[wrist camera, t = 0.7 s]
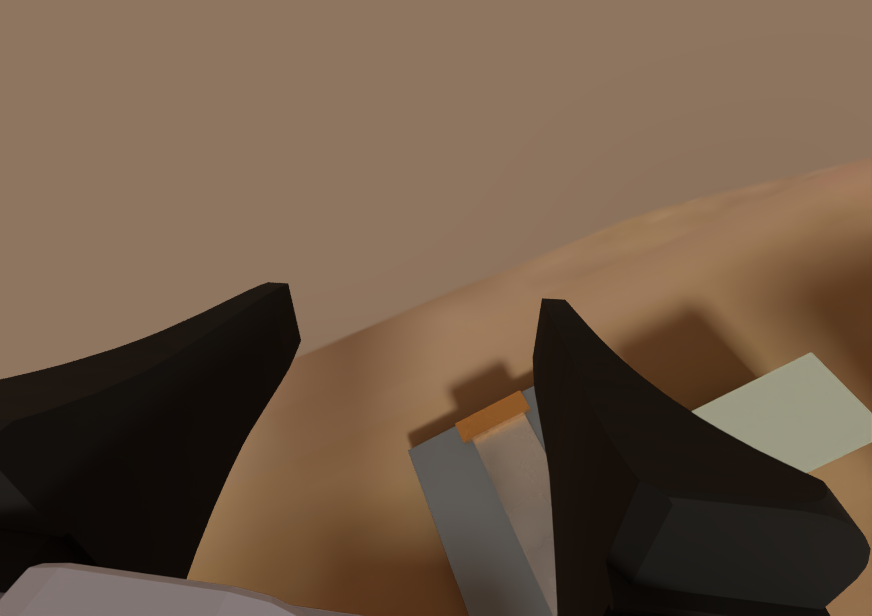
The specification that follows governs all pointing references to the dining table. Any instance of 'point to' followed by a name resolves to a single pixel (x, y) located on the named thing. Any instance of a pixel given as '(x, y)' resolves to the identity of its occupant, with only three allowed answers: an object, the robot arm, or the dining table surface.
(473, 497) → the mounting board
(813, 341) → the dining table surface
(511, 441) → the rail
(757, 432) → the block
